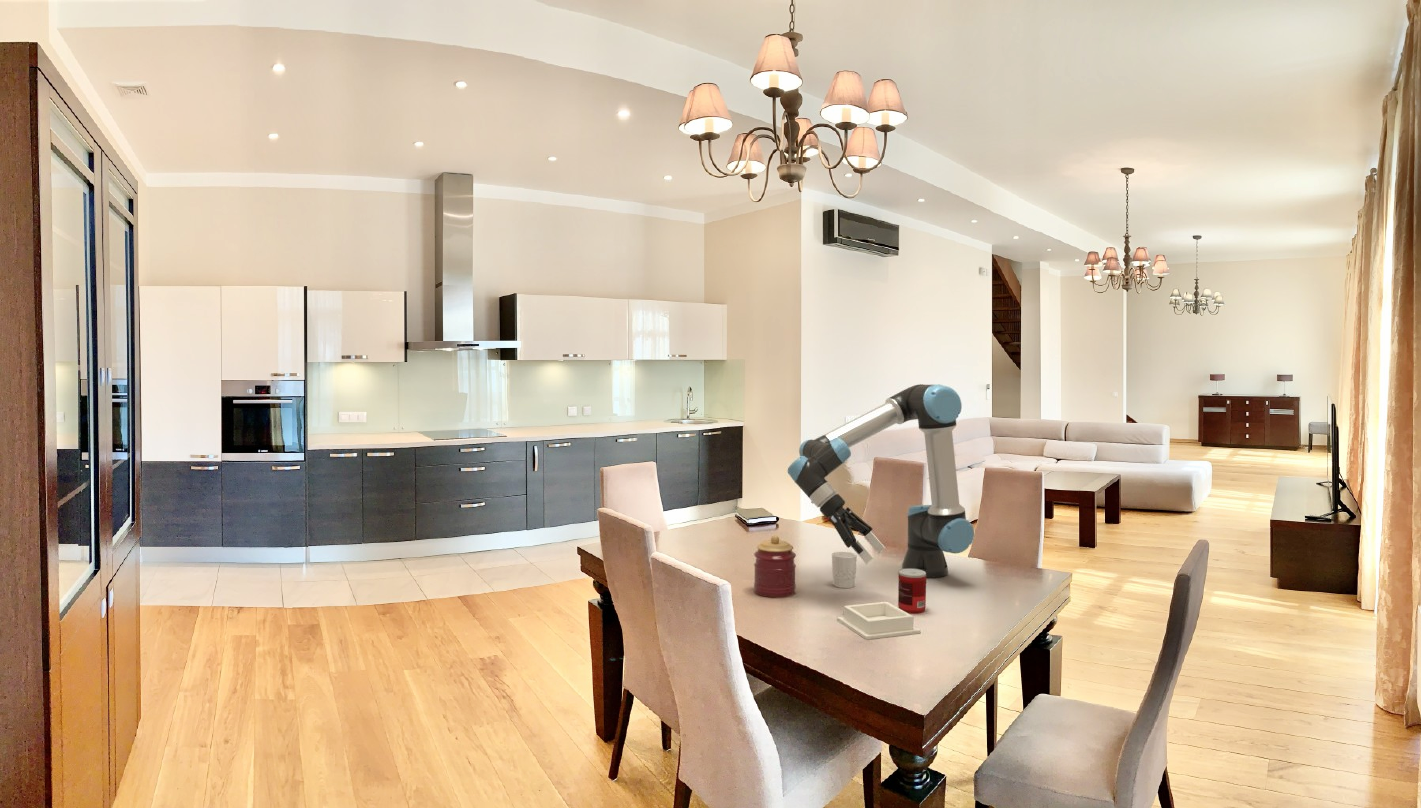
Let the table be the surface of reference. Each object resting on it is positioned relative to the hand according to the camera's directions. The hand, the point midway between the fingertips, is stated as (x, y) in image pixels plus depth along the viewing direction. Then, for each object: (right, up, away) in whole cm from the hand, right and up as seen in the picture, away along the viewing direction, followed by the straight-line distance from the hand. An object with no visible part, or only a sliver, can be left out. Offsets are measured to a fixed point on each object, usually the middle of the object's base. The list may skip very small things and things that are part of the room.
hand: (876, 555), depth 224 cm
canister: (-29, -14, +13) cm, 35 cm away
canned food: (+9, -15, -4) cm, 18 cm away
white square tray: (-4, -15, -19) cm, 25 cm away
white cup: (-6, -14, +20) cm, 25 cm away
